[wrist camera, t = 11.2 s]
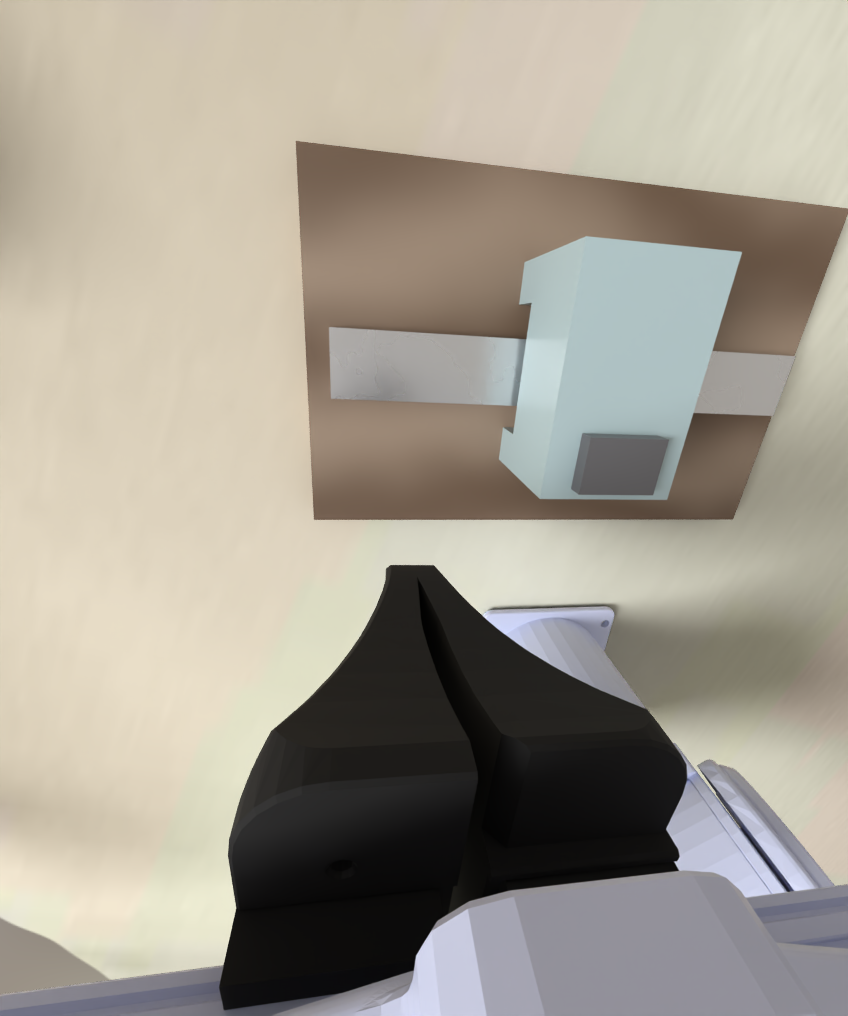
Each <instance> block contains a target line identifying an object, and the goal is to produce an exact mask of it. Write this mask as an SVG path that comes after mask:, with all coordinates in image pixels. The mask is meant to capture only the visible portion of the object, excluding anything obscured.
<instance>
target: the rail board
mask: <svg viewBox="0 0 848 1016" xmlns="http://www.w3.org/2000/svg"><path fill="white" fill-rule="evenodd" d="M296 154H297V174H298V195H299V216H300V237H301V258H302V279H303V299H304V320H305V341H306V362H307V383H308V404H309V424H310V445H311V466H312V487H313V508H314V520H549V519H733V518H734V515H735V512H736V510H737V507H738V504H739V502H740V499H741V496H742V494H743V491H744V488H745V486H746V483H747V480H748V478H749V475H750V472H751V470H752V467H753V464H754V462H755V459H756V456H757V454H758V451H759V448H760V446H761V443H762V440H763V438H764V435H765V432H766V430H767V427H768V425H769V422H770V419H771V417H772V416H773V415H774V413H775V410H776V407H777V405H778V402H779V399H780V397H781V394H782V391H783V389H784V386H785V384H786V381H787V378H788V376H789V373H790V370H791V368H792V365H793V362H794V360H795V357H796V356H794V355H795V353H796V350H797V347H798V345H799V342H800V339H801V337H802V334H803V331H804V329H805V326H806V323H807V321H808V318H809V315H810V313H811V310H812V307H813V305H814V302H815V300H816V297H817V294H818V292H819V289H820V286H821V284H822V281H823V278H824V276H825V273H826V270H827V268H828V265H829V262H830V260H831V257H832V254H833V252H834V249H835V246H836V244H837V241H838V238H839V236H840V233H841V230H842V228H843V225H844V222H845V220H846V217H847V214H848V209H847V208H839V207H830V206H822V205H814V204H806V203H798V202H790V201H781V200H773V199H765V198H757V197H749V196H741V195H732V194H724V193H716V192H708V191H700V190H692V189H683V188H675V187H667V186H659V185H651V184H643V183H634V182H626V181H618V180H610V179H602V178H594V177H585V176H577V175H569V174H561V173H553V172H545V171H537V170H528V169H520V168H512V167H504V166H496V165H488V164H479V163H471V162H463V161H455V160H447V159H439V158H430V157H422V156H414V155H406V154H398V153H390V152H381V151H373V150H365V149H357V148H349V147H341V146H332V145H324V144H316V143H308V142H300V141H296ZM585 236H589V237H599V238H609V239H619V240H628V241H638V242H648V243H658V244H668V245H678V246H688V247H698V248H708V249H718V250H728V251H738V252H742V254H741V258H740V261H739V264H738V268H737V271H736V274H735V277H734V281H733V284H732V287H731V291H730V294H729V297H728V301H727V304H726V307H725V310H724V314H723V317H722V320H721V324H720V327H719V330H718V334H717V337H716V340H715V343H714V347H713V350H712V353H711V357H710V360H709V363H708V366H707V370H706V373H705V376H704V380H703V383H702V386H701V390H700V393H699V396H698V399H697V403H696V406H695V409H694V413H693V416H692V419H691V423H690V426H689V429H688V432H687V436H686V439H685V442H684V446H683V449H682V452H681V456H680V459H679V462H678V465H677V469H676V472H675V475H674V479H673V482H672V485H671V489H670V492H669V495H668V498H667V500H619V499H539V498H538V497H537V496H536V495H535V494H534V493H533V492H532V491H531V490H530V489H529V488H528V487H527V486H526V485H525V484H524V483H523V482H522V481H521V480H520V479H519V478H518V477H517V476H516V475H515V474H513V473H512V472H511V471H510V470H509V469H508V468H507V467H506V466H505V465H504V464H503V463H502V462H501V461H500V460H499V455H500V447H501V439H502V432H503V427H511V428H514V424H515V417H516V410H517V403H518V396H519V389H520V382H521V374H522V367H523V360H524V353H525V346H526V339H527V332H528V325H529V318H530V311H531V305H519V302H520V294H521V287H522V279H523V271H524V264H525V262H526V261H529V260H531V259H533V258H536V257H538V256H541V255H543V254H545V253H548V252H550V251H552V250H555V249H557V248H559V247H562V246H564V245H567V244H569V243H571V242H574V241H576V240H578V239H581V238H583V237H585Z"/></svg>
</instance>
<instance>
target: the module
mask: <svg viewBox="0 0 848 1016" xmlns="http://www.w3.org/2000/svg"><path fill="white" fill-rule="evenodd" d="M741 254H742V252H738V251H728V250H718V249H708V248H698V247H688V246H678V245H668V244H658V243H648V242H638V241H628V240H619V239H609V238H599V237H589V236H585V237H583V238H581V239H578V240H576V241H574V242H571V243H569V244H567V245H564V246H562V247H559V248H557V249H555V250H552V251H550V252H548V253H545V254H543V255H541V256H538V257H536V258H533V259H531V260H529V261H526V262H525V264H524V271H523V279H522V287H521V294H520V302H519V305H531V311H530V318H529V325H528V332H527V339H526V346H525V353H524V360H523V367H522V374H521V382H520V389H519V396H518V403H517V410H516V417H515V424H514V428H511V427H503V432H502V439H501V447H500V455H499V460H500V461H501V462H502V463H503V464H504V465H505V466H506V467H507V468H508V469H509V470H510V471H511V472H512V473H513V474H515V475H516V476H517V477H518V478H519V479H520V480H521V481H522V482H523V483H524V484H525V485H526V486H527V487H528V488H529V489H530V490H531V491H532V492H533V493H534V494H535V495H536V496H537V497H538V498H539V499H619V500H667V498H668V495H669V492H670V489H671V485H672V482H673V479H674V475H675V472H676V469H677V465H678V462H679V459H680V456H681V452H682V449H683V446H684V442H685V439H686V436H687V432H688V429H689V426H690V423H691V419H692V416H693V413H694V409H695V406H696V403H697V399H698V396H699V393H700V390H701V386H702V383H703V380H704V376H705V373H706V370H707V366H708V363H709V360H710V357H711V353H712V350H713V347H714V343H715V340H716V337H717V334H718V330H719V327H720V324H721V320H722V317H723V314H724V310H725V307H726V304H727V301H728V297H729V294H730V291H731V287H732V284H733V281H734V277H735V274H736V271H737V268H738V264H739V261H740V258H741Z"/></svg>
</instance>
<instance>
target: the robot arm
mask: <svg viewBox="0 0 848 1016" xmlns="http://www.w3.org/2000/svg"><path fill="white" fill-rule="evenodd" d="M614 614H615V613H614V611H613V610H612V609H611V608H610V607H607V606H601V607H570V608H539V609H508V610H489V611H487V612H485V613H484V614H483V616H482V615H481V614H480V613H479V612H478V611H477V610H476V609H474V608H473V607H472V606H471V605H470V604H469V603H468V602H467V601H466V600H465V599H464V598H463V597H462V596H461V595H460V594H459V593H458V591H457V590H456V589H455V588H454V587H453V586H452V585H451V584H450V583H449V582H448V581H447V579H446V578H445V577H444V576H443V575H442V574H441V573H440V572H439V571H438V569H437V568H436V567H435V566H434V565H390V566H389V567H388V568H387V569H386V581H385V584H384V588H383V591H382V594H381V596H380V599H379V601H378V604H377V606H376V608H375V610H374V612H373V614H372V616H371V618H370V620H369V622H368V624H367V626H366V627H365V629H364V631H363V632H362V634H361V636H360V637H359V639H358V640H357V642H356V643H355V645H354V646H353V648H352V649H351V651H350V652H349V653H348V655H347V656H346V657H345V659H344V660H343V661H342V662H341V664H340V665H339V666H338V668H337V669H336V670H335V671H334V672H333V673H332V675H331V676H330V677H329V678H328V679H327V680H326V681H325V682H324V683H323V684H322V685H321V686H320V687H319V688H318V689H317V690H316V692H315V693H314V694H313V695H312V696H311V697H310V698H309V699H308V700H307V701H306V702H305V703H303V704H302V705H301V706H300V707H299V708H298V709H297V710H295V711H294V712H293V713H292V714H291V715H290V716H289V717H287V718H286V719H285V720H284V721H283V722H282V723H280V724H279V725H278V726H277V727H276V728H274V729H273V730H272V731H271V733H270V734H269V736H268V738H267V740H266V742H265V744H264V746H263V748H262V750H261V752H260V753H259V756H258V758H257V760H256V762H255V764H254V766H253V768H252V770H251V773H250V775H249V778H248V780H247V783H246V785H245V788H244V790H243V793H242V796H241V798H240V802H239V805H238V808H237V812H236V816H235V820H234V823H233V827H232V831H231V835H230V838H229V850H228V858H229V865H230V871H231V877H232V884H233V890H234V896H235V902H236V912H235V917H234V921H233V926H232V930H231V935H230V939H229V944H228V948H227V953H226V957H225V962H224V965H223V966H215V967H207V968H200V969H192V970H184V971H176V972H169V973H161V974H153V975H146V976H138V977H130V978H123V979H115V980H107V981H100V982H92V983H84V984H76V985H69V986H61V987H54V988H46V989H38V990H30V991H23V992H15V993H7V994H0V1016H848V884H846V885H838V886H835V885H834V884H833V883H832V882H831V880H830V879H829V878H828V877H827V875H826V874H825V873H824V872H823V870H822V869H821V868H820V867H819V865H818V864H817V863H816V862H815V860H814V859H813V858H812V857H811V855H810V854H809V853H808V852H807V851H806V849H805V848H804V847H803V846H802V844H801V843H800V842H799V841H798V840H797V838H796V837H795V836H794V835H793V834H792V832H791V831H790V830H789V829H788V828H787V826H786V825H785V824H784V823H783V822H782V820H781V819H780V818H779V817H778V816H777V815H776V813H775V812H774V811H773V810H772V809H771V808H770V806H769V805H768V804H767V803H766V802H765V801H764V799H763V798H762V797H761V796H760V795H759V794H758V793H757V792H756V790H755V789H754V788H753V787H752V786H751V785H750V784H749V783H748V782H747V781H746V780H745V779H744V778H743V777H742V776H741V775H740V774H739V773H738V772H737V771H736V770H735V769H733V768H730V767H727V766H724V765H718V764H717V763H715V762H714V761H713V760H710V759H709V760H706V761H704V762H702V763H701V764H699V765H697V766H698V767H699V769H700V771H701V772H702V774H703V775H704V776H705V778H706V779H707V781H708V782H709V783H710V785H711V786H712V788H713V789H714V790H715V792H716V795H717V796H718V798H719V799H720V801H721V802H722V803H723V805H724V806H725V808H726V809H727V810H728V812H729V813H730V815H731V816H732V817H733V819H734V820H735V821H736V823H737V824H738V825H737V824H736V823H735V821H734V820H733V819H732V817H731V816H730V815H729V813H728V812H727V811H726V809H725V808H724V807H723V805H722V804H721V803H720V801H719V800H718V799H717V797H716V796H715V795H714V793H713V792H712V791H711V790H710V788H709V787H708V786H707V784H706V783H705V782H704V781H703V779H702V778H701V777H700V775H699V774H698V773H697V771H696V770H695V769H694V767H693V766H692V765H691V763H690V762H689V761H688V759H687V758H686V757H685V755H684V754H683V753H682V751H681V750H680V749H679V747H678V746H677V745H676V744H675V743H672V741H671V740H670V739H669V737H668V736H667V735H666V733H665V732H664V731H663V729H662V728H661V727H660V725H659V724H658V723H657V721H656V720H655V719H654V717H653V716H652V715H651V714H650V713H649V711H648V710H647V709H646V708H645V706H644V705H643V704H642V702H641V701H640V700H639V698H638V697H637V696H636V694H635V693H634V692H633V690H632V689H631V687H630V686H629V685H628V683H627V682H626V681H625V679H624V678H623V677H622V675H621V674H620V673H619V671H618V670H617V669H616V667H615V666H614V665H613V663H612V662H611V660H610V659H609V658H608V656H607V655H606V654H605V652H604V651H605V647H606V644H607V640H608V637H609V633H610V630H611V626H612V623H613V619H614ZM603 621H604V622H603ZM602 622H603V623H602ZM738 826H739V827H740V828H739V827H738Z"/></svg>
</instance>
